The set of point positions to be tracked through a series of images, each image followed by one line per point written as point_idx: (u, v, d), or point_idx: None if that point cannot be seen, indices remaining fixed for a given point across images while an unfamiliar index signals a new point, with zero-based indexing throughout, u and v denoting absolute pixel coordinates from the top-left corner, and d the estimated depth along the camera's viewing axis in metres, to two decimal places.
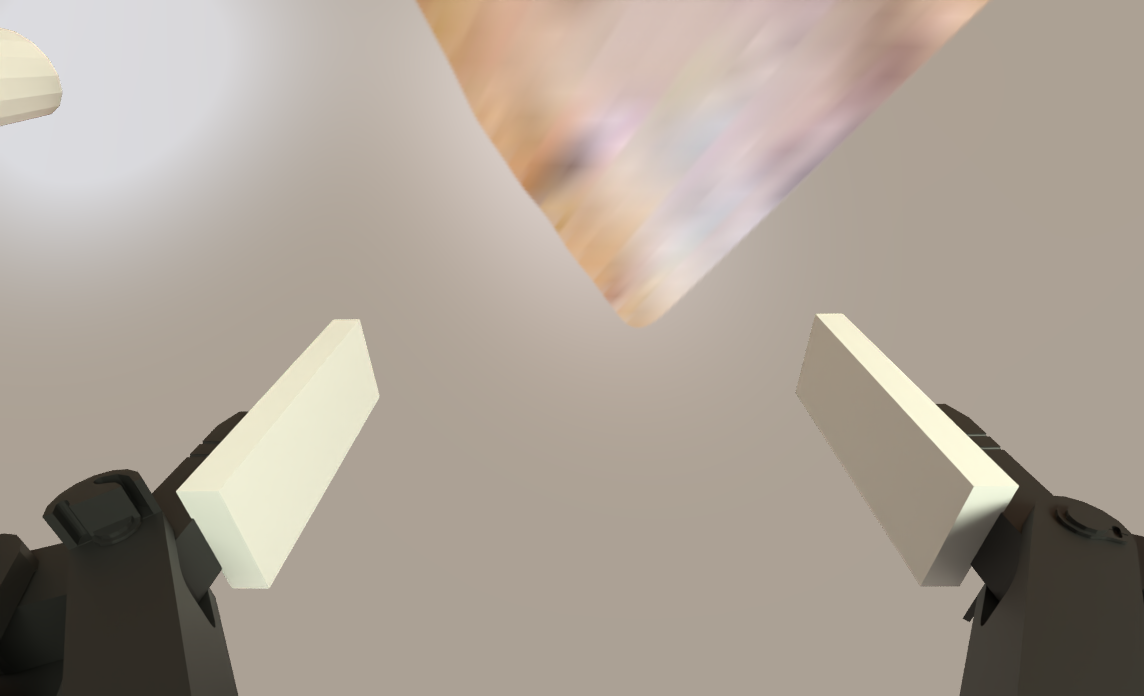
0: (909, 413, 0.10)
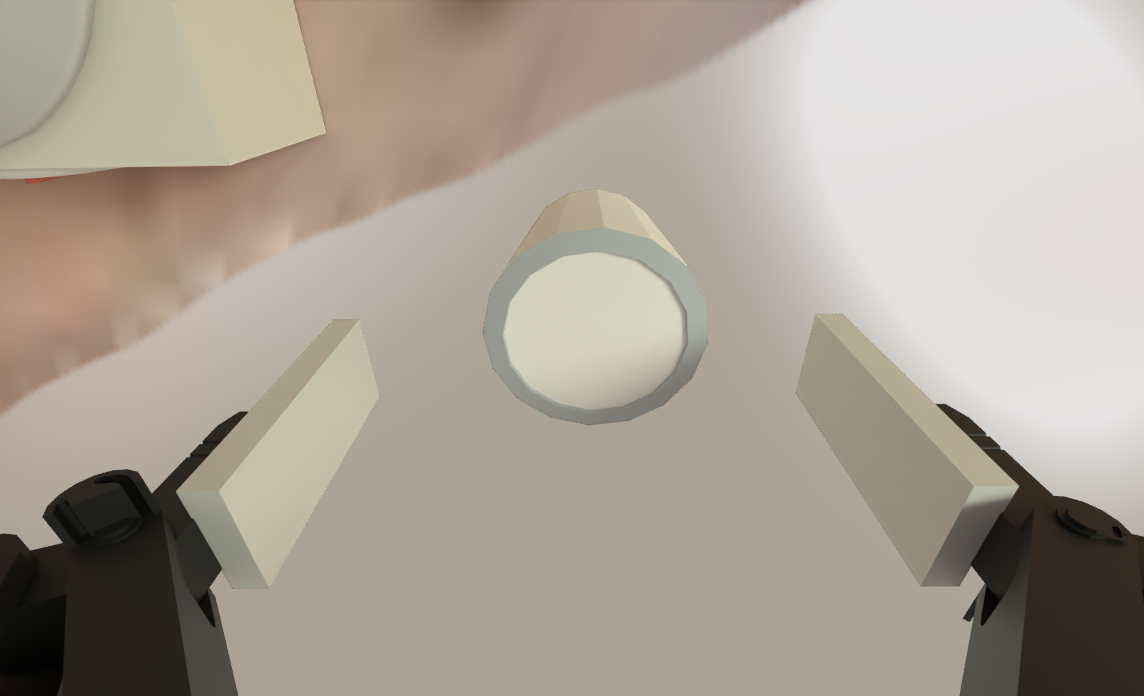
0: (909, 413, 0.10)
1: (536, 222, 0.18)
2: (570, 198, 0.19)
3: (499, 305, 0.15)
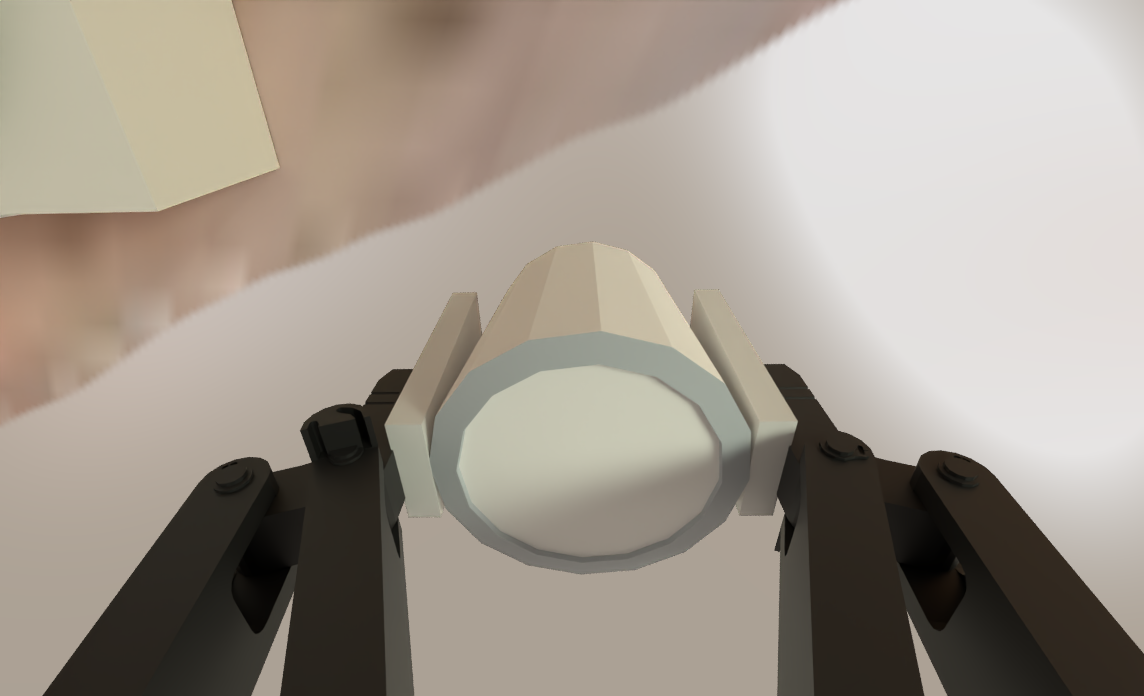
0: (735, 367, 0.12)
1: (511, 291, 0.14)
2: (557, 257, 0.14)
3: (450, 433, 0.10)
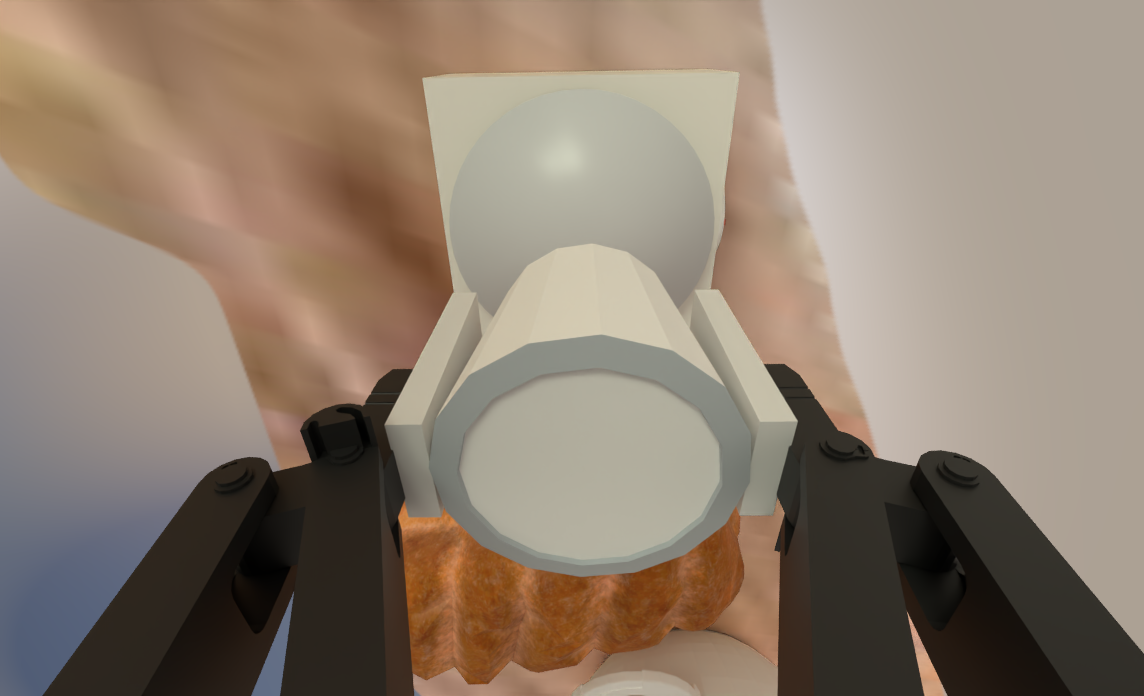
0: (735, 367, 0.12)
1: (511, 293, 0.14)
2: (557, 259, 0.14)
3: (449, 436, 0.10)
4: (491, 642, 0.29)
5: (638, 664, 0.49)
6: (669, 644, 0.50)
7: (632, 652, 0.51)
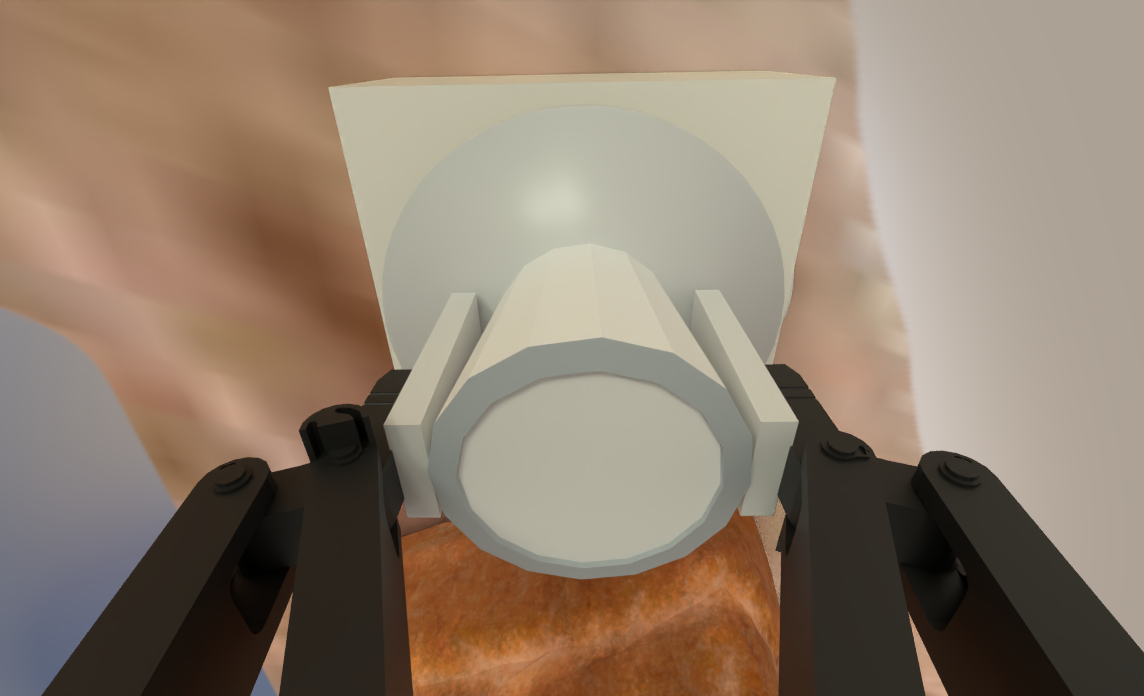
0: (736, 368, 0.12)
1: (509, 294, 0.14)
2: (554, 260, 0.14)
3: (448, 440, 0.10)
4: None
5: None
6: None
7: None
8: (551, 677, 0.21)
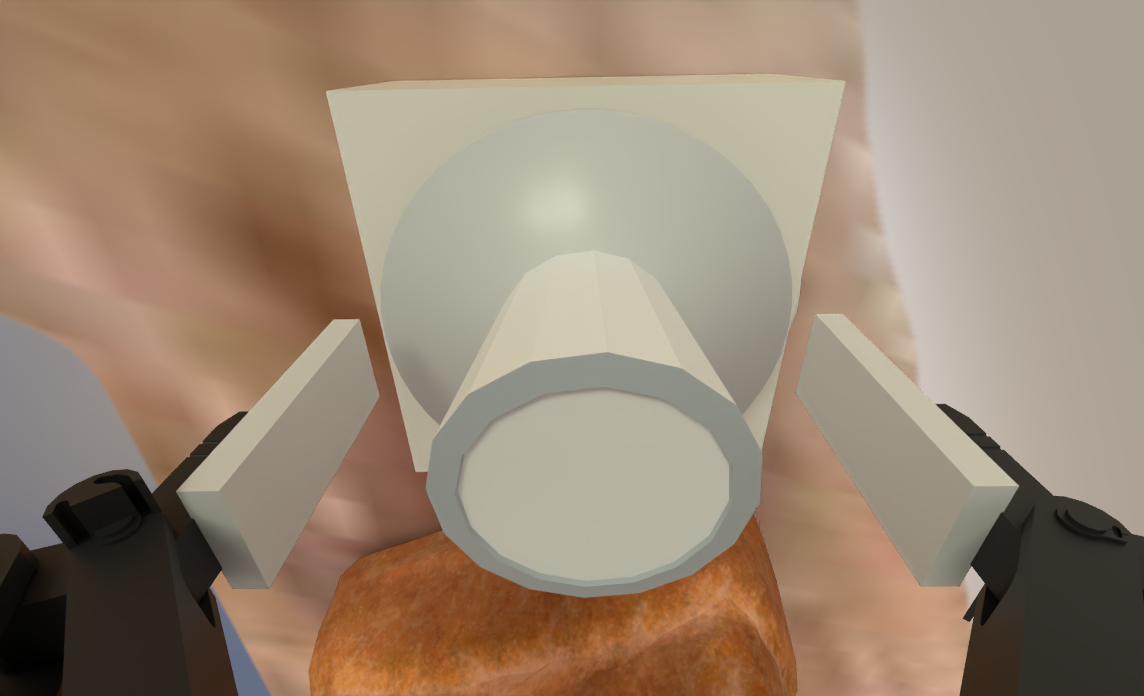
0: (909, 413, 0.10)
1: (510, 303, 0.13)
2: (557, 268, 0.14)
3: (447, 457, 0.10)
4: None
5: None
6: None
7: None
8: (551, 690, 0.21)
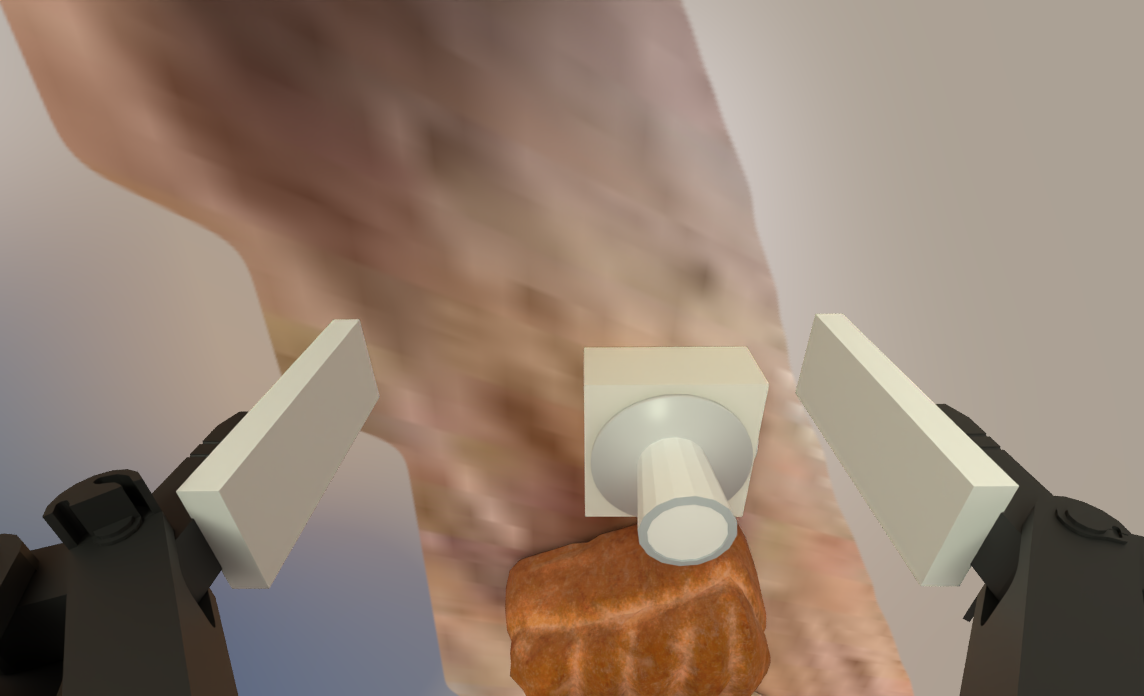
0: (909, 413, 0.10)
1: (651, 462, 0.38)
2: (666, 448, 0.38)
3: (647, 521, 0.34)
4: None
5: None
6: None
7: None
8: (647, 619, 0.45)
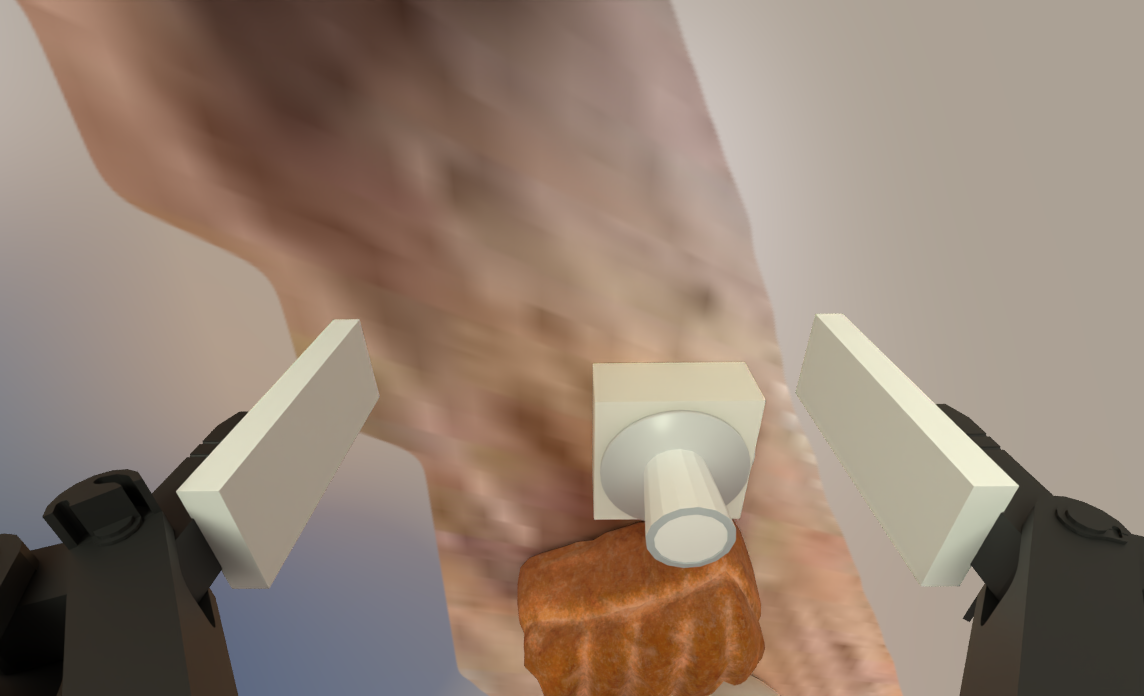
0: (909, 413, 0.10)
1: (657, 473, 0.41)
2: (671, 460, 0.41)
3: (654, 529, 0.37)
4: (611, 695, 0.48)
5: None
6: None
7: None
8: (650, 612, 0.48)
